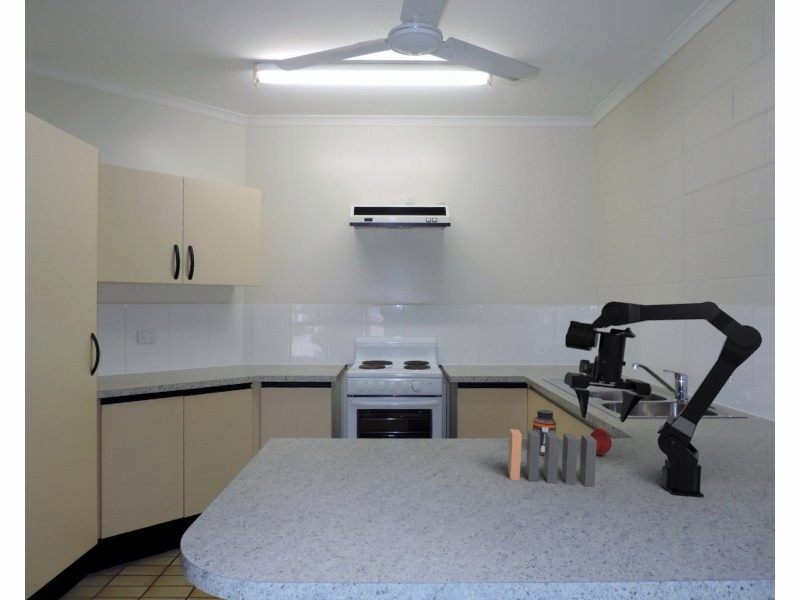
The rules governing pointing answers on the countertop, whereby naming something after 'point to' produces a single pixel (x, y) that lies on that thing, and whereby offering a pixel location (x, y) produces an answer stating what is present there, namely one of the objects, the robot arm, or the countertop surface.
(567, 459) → the domino
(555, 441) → the domino
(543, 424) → the supplement bottle
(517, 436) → the domino
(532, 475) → the domino
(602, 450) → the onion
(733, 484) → the countertop surface
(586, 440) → the domino
